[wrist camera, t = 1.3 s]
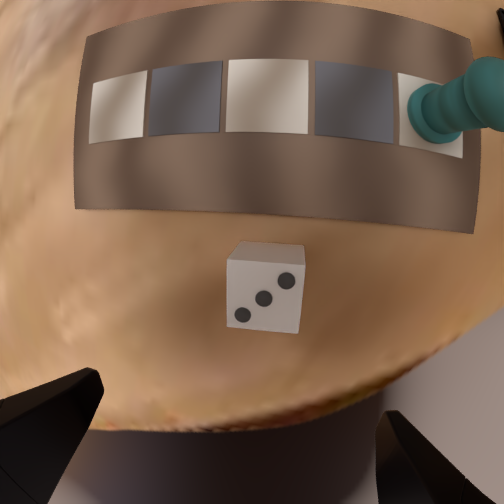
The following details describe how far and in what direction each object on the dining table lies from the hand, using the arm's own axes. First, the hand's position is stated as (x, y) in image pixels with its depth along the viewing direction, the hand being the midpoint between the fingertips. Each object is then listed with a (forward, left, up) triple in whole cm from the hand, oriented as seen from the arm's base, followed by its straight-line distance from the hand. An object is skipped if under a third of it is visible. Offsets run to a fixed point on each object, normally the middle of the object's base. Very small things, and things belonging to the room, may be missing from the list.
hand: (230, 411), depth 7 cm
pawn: (-10, -11, -11) cm, 18 cm away
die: (0, 0, -12) cm, 12 cm away
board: (0, -11, -12) cm, 16 cm away
